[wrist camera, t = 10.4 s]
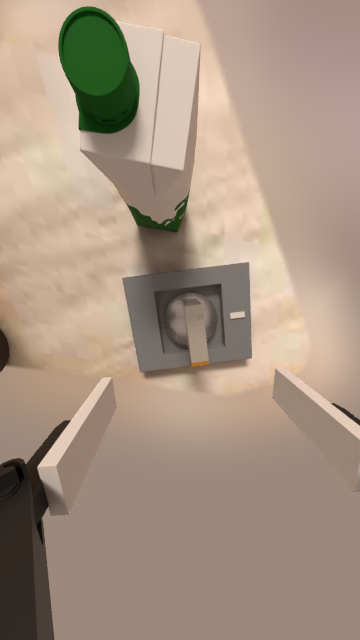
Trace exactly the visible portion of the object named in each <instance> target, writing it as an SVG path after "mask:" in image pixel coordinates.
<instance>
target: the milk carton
mask: <svg viewBox="0 0 360 640" xmlns="http://www.w3.org/2000/svg"><path fill="white" fill-rule="evenodd" d="M58 46H59V56H60V61H61V64H62V67H63V70H64V72H65V75H66V77H67V79H68V80H69V82H70V84H71V86H72V88H73V90H74V92H75V94H76V102H77V106H78V110H79V130H80V131H81V133H80V151H81V152H82V153H83V154H84V155H85V156H86V157H87V158H88V159H89V160H90V161H91V162H92V163H93V164H94V165H95V166H96V167H97V168H98V169H99V170H100V171H101V172H102V173H103V174H104V175H105V176H106V177H107V178H108V179H109V180H111V182H112V183H113V184H114V185H115V187H116V188H117V190H118V191H119V193H120V195H121V196H122V198H123V199H124V201H125V203H126V204H127V206H128V207H129V209H130V211H131V213H132V215H133V217H134V219H135V221H136V223H137V225H140V226H145V227H151V228H157V229H162V230H168V231H174V232H177V231H178V228H179V226H180V223H181V221H182V218H183V215H184V213H185V210H186V206H187V201H188V197H189V191H190V184H191V178H192V172H193V165H194V156H195V145H196V135H197V115H198V91H199V67H200V48H201V44H200V43H196V42H192V41H188V40H184V39H180V38H176V37H172V36H167V35H164V31H163V30H161V29H158V28H154V27H149V26H148V27H142V26H137V25H133V24H129V23H124V22H120V21H115V20H114V19H113V18H112V17H111V16H110V15H109V14H108V13H106V12H105V11H103V10H101V9H99V8H96V7H81V8H79V9H77V10H75V11H73V12H72V13H71V14H70V15H69V16H68V17H67V18H66V20H65V21H64V23H63V25H62V28H61V31H60V35H59V45H58Z"/></svg>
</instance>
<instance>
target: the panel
mask: <svg viewBox="0 0 360 640" xmlns="http://www.w3.org/2000/svg"><path fill="white" fill-rule="evenodd" d="M122 279H123V285H124V290H125V295H126V300H127V306H128V311H129V316H130V321H131V327H132V332H133V337H134V342H135V348H136V353H137V358H138V363H139V369H140V372H145V371H153V370H161V369H169V368H177V367H185V366H192V365H191V360H190V355H189V350H188V345H183V344H180V343H178V342H176V341H175V340H173V339H172V338H171V337H170V335H169V334H168V333H167V331H166V328H165V324H164V315H165V311H166V308H167V306H168V305H169V303H170V302H171V301H172V300H173V299H174V298H175V297H177V296H179V295H181V294H183V293H198V294H201V295H203V296H205V297H206V298H208V299H209V300H210V301H211V302H212V303H213V305H214V306H215V309H216V311H217V316H218V321H217V326H216V329H215V331H214V333H213V334H212V336H211V337H210V338H209V339H207V350H208V359H209V363H217V362H225V361H234V360H242V359H250V358H252V346H251V313H250V280H249V262H247V263H239V264H231V265H223V266H215V267H206V268H198V269H190V270H182V271H174V272H166V273H158V274H150V275H142V276H134V277H126V278H122Z"/></svg>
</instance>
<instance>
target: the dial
mask: <svg viewBox="0 0 360 640" xmlns="http://www.w3.org/2000/svg"><path fill="white" fill-rule="evenodd" d="M217 321H218V316H217V311H216V309H215V306H214V305H213V303H212V302H211V301H210V300H209V299H208V298H206V297H205V296H203V295H201V294H198V293H183V294H181V295H179V296H177V297H175V298H174V299H173V300H172V301H171V302H170V303H169V305H168V306H167V308H166V311H165V315H164V324H165V328H166V331H167V333H168V334H169V335H170V337H171V338H172V339H173V340H175V341H176V342H178V343H180V344H183V345H188V350H189V355H190V360H191V365H192V367H195V366H203V365H209V359H208V350H207V339H209V338H210V337H211V336H212V334H213V333H214V331H215V329H216V326H217Z"/></svg>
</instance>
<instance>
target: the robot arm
mask: <svg viewBox="0 0 360 640" xmlns="http://www.w3.org/2000/svg"><path fill="white" fill-rule="evenodd" d="M7 360H8V345H7V341H6V339H5V337H4V335H3V333H2V332H1V330H0V372H1V371H2V370H3V368H4V367H5V365H6V363H7ZM273 399H274V400H275V401H276V402H277V404H278V405H279V406H280V407H281V408H282V409H283V411H284V412H285V413H286V414H287V415H288V416H289V418H290V419H291V420H292V421H293V422H294V423H295V425H296V426H297V427H298V428H299V429H300V431H301V432H302V433H303V434H304V435H305V436H306V438H307V439H308V440H309V441H310V442H311V443H312V445H313V446H314V447H315V448H316V449H317V450H318V451H319V453H320V454H321V455H322V456H323V457H324V458H325V460H326V461H327V462H328V463H329V464H330V466H331V467H332V468H333V469H334V470H335V471H336V473H337V474H338V475H339V476H340V477H341V478H342V480H343V481H344V482H345V483H346V484H347V485H348V486H349V488H350V489H351V490H352V491H353V492H355V491H360V420H359V419H358V418H356V417H354V415H352V414H351V413H350V412H348V411H347V410H346V409H344V408H342V407H340V406H338V405H336V404H334V403H329V402H328V401H327V400H326V399H324V398H323V397H322V396H320V395H319V394H318V393H316V392H315V391H314V390H313V389H311V388H310V387H309V386H307V385H306V384H305V383H304V382H302V381H301V380H300V379H298V378H297V377H296V376H295V375H293V374H292V373H291V372H289V371H288V370H287V369H286V368H275V377H274V388H273ZM115 409H116V401H115V394H114V387H113V379H112V377H108V378H102V379H101V380H100V382H99V383H98V385H97V386H96V387H95V389H94V390H93V391H92V393H91V394H90V396H89V397H88V398H87V400H86V401H85V402H84V404H83V405H82V406H81V408H80V409H79V411H78V412H77V413H76V415H75V416H74V417H73V419H72V420H70V421H63V422H62V423H61V424H60V425H59V426H57V427H56V428H55V429H54V430H53V431H52V433H51V434H50V435H49V436H48V438H47V439H46V440H45V441H44V443H43V444H42V446H40V448H39V449H38V450H37V451H36V452H35V454H34V455H33V456H32V457H31V459H30V460H29V461H28V463H27V464H26V465H25V462H24V460H23V459H20V458H18V459H12V460H9V461H7V462H4V463H2V464H1V465H0V640H54V632H53V622H52V611H51V601H50V590H49V580H48V569H47V559H46V548H45V538H44V528H43V521H42V517H43V515H44V513H45V511H46V509H47V508H48V507H49V511H50V514H51V516H52V515H65V514H69V512H70V510H71V507H72V505H73V503H74V500H75V499H76V496H77V494H78V492H79V490H80V487H81V485H82V483H83V481H84V478H85V476H86V474H87V472H88V470H89V467H90V465H91V463H92V461H93V458H94V456H95V454H96V451H97V450H98V447H99V445H100V443H101V441H102V438H103V436H104V434H105V431H106V429H107V427H108V425H109V423H110V420H111V418H112V416H113V414H114V411H115Z"/></svg>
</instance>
